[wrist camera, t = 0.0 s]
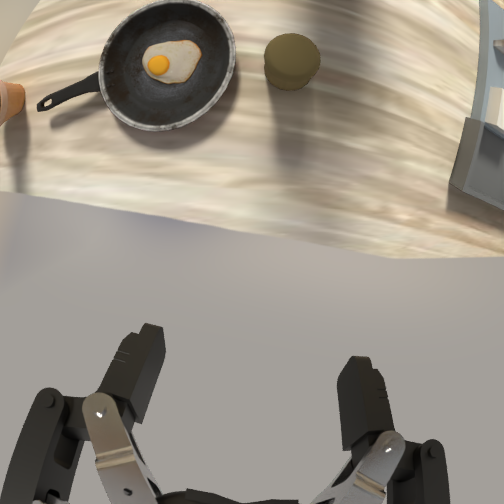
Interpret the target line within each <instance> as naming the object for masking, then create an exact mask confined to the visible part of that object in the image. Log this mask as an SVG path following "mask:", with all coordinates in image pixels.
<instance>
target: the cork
mask: <svg viewBox="0 0 504 504" xmlns="http://www.w3.org/2000/svg"><path fill="white" fill-rule="evenodd" d="M264 59H265V65H264V70H265V75H266V77H267V79H268V80H269V81H270V83H271V84H272V85H274V86H275V87H277V88H279V89H282V90H287V91H289V90H297V89H300V88H302V87H303V86H305V85H306V84H307V83H308V82H309V80H310V79H311V77H312V76H314V75H315V73H316V72H317V70H318V69H319V66H320V62H321V60H320V53H319V51H318V49H317V47H316V45H315V44H314V43H313V42H312V41H311V40H310V39H308V38H306V37H305V36H303V35H299V34H295V33H290V34H283V35H280V36H277V37H276V38H274V39H273V40H271V41H270V43H269V44H268V45H267V47H266V49H265V53H264Z"/></svg>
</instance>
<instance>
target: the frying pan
mask: <svg viewBox="0 0 504 504" xmlns="http://www.w3.org/2000/svg"><path fill="white" fill-rule="evenodd" d="M235 62H236V46H235V41H234V36H233V33H232V31H231V29H230V27H229V25H228V23H227V22H226V21H225V19H224V18H223V17H222V16H221V15H220V13H219V12H217V11H216V10H214V9H213V8H212V7H210V6H209V5H207V4H204V3H202V2H200V1H197V0H158V1H155V2H152V3H150V4H147V5H145V6H142V7H141V8H139V9H137V10H136V11H134V12H133V13H131V14H130V15H129V16H128V17H126V18H125V19H124V20H123V21H122V22H121V23H120V24H119V25H118V26H117V27H116V29H115V30H114V31H113V32H112V34H111V36H110V37H109V39H108V41H107V42H106V44H105V47H104V49H103V52H102V55H101V58H100V64H99V71H98V72H96V73H93V74H92V75H90V76H88V77H87V78H85V79H84V80H82V81H79V82H77V83H75V84H73V85H70V86H68V87H66V88H64V89H61V90H59V91H57V92H55V93H52V94H50V95H48V96H46V97H45V98H44V99H43V100H41V101H40V102H39V103H38V104H37V111H38V112H40V111H46V110H49V109H51V108H53V107H55V106H57V105H59V104H61V103H63V102H65V101H67V100H69V99H71V98H73V97H76V96H79V95H82V94H85V93H88V92H98V91H101V94H102V96H103V98H104V101H105V103H106V105H107V106H108V107H109V109H110V110H111V112H112V113H113V114H114V115H115V116H116V117H117V118H118V119H119V120H121V121H122V122H124V123H126V124H127V125H129V126H131V127H134V128H137V129H140V130H145V131H153V132H157V131H168V130H172V129H176V128H180V127H182V126H184V125H187V124H189V123H191V122H193V121H195V120H196V119H198V118H199V117H201V116H202V115H203V114H205V113H206V112H207V111H208V110H209V109H210V108H211V107H212V106H213V105H214V104H215V103H216V102H217V101H218V100H219V98H220V97H221V96H222V94H223V93H224V91H225V90H226V88H227V86H228V84H229V82H230V79H231V77H232V74H233V70H234V66H235ZM49 99H52V104H50V105H48V106H46V107H44V103H45V102H46V101H48V100H49Z"/></svg>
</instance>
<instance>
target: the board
mask: <svg viewBox="0 0 504 504" xmlns="http://www.w3.org/2000/svg"><path fill="white" fill-rule="evenodd" d="M479 6H480V47H479V62H478V73H477V81H476V89H475V96H474V102H473V108H472V113H471V118H472V119H476V120H480V121H482V122H484V123H485V125H484V127H485V128H486V129H488V130H489V131H491V132H492V133H494V134H495V135H497V136H498V137H500V138H501V139H503V140H504V135H503V134H502V133H501V132H499V131H498V130H496V129H495V128H493V127H492V126H490V125H489V124H487V123H486V122H485V117H486V111H487V105H488V99H489V91H490V87H497V88H503V89H504V55H503V54H502V53H501V52H500V51H499V50H497V49H496V48H495V47H493V40H504V10H503V9H502V8H501V7H500V6H498V5H497V4H496V3H495V2H493V1H492V0H479Z"/></svg>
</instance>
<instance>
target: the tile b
mask: <svg viewBox="0 0 504 504" xmlns="http://www.w3.org/2000/svg"><path fill="white" fill-rule="evenodd" d="M485 122H486V123H487V124H489V125H490V126H492V127H493V128H495V129H496V130H498V131H499V132H501V133H502V134H503V135H504V89H503V88H497V87H490V91H489V99H488V105H487V111H486V117H485Z"/></svg>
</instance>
